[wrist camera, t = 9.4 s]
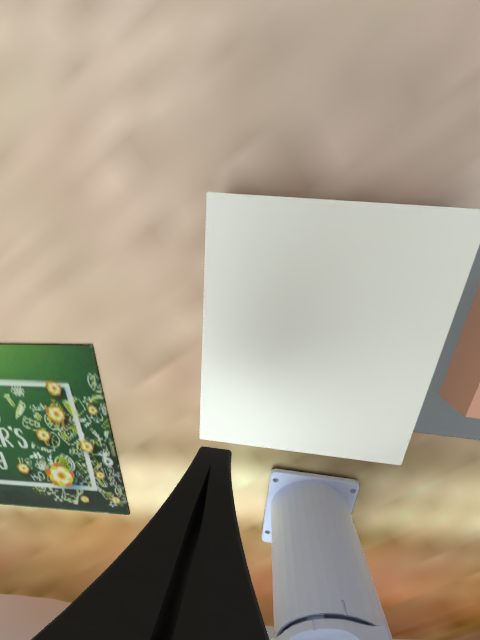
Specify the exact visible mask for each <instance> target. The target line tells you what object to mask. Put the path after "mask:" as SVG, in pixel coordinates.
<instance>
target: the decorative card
mask: <svg viewBox="0 0 480 640" xmlns="http://www.w3.org/2000/svg"><path fill="white" fill-rule="evenodd" d="M0 504H2V505H14V506H26V507H38V508H50V509H62V510H74V511H86V512H99V513H111V514H123V515H129V514H130V511H129V507H128V502H127V497H126V493H125V488H124V484H123V479H122V475H121V470H120V466H119V461H118V457H117V452H116V448H115V443H114V439H113V434H112V430H111V425H110V421H109V416H108V412H107V407H106V402H105V398H104V393H103V389H102V384H101V380H100V375H99V371H98V366H97V362H96V357H95V353H94V348H93V345H63V344H0Z"/></svg>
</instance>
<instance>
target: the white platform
mask: <svg viewBox="0 0 480 640" xmlns="http://www.w3.org/2000/svg"><path fill="white" fill-rule="evenodd" d="M479 245H480V209H470V208H454V207H438V206H422V205H406V204H390V203H374V202H358V201H342V200H326V199H310V198H294V197H278V196H262V195H246V194H230V193H214V192H207V202H206V236H205V270H204V305H203V339H202V373H201V407H200V439H205V440H212V441H220V442H227V443H235V444H242V445H250V446H257V447H265V448H273V449H280V450H288V451H295V452H303V453H310V454H318V455H326V456H333V457H341V458H348V459H356V460H363V461H371V462H378V463H386V464H394V465H401V464H402V461H403V458H404V455H405V452H406V450H407V447H408V444H409V441H410V438H411V436H412V433H413V430H414V427H415V424H416V422H417V419H418V416H419V413H420V410H421V408H422V405H423V402H424V399H425V396H426V393H427V391H428V388H429V385H430V382H431V379H432V377H433V374H434V371H435V368H436V365H437V363H438V360H439V357H440V354H441V351H442V349H443V346H444V343H445V340H446V337H447V335H448V332H449V329H450V326H451V323H452V320H453V318H454V315H455V312H456V309H457V306H458V304H459V301H460V298H461V295H462V292H463V290H464V287H465V284H466V281H467V278H468V276H469V273H470V270H471V267H472V264H473V262H474V259H475V256H476V253H477V250H478V247H479Z"/></svg>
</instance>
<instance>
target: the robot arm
mask: <svg viewBox="0 0 480 640" xmlns="http://www.w3.org/2000/svg"><path fill="white" fill-rule="evenodd" d="M231 454H232V453H231V451H230V450H225V449H217V448H210V447H201V448H200V449H199V451H198V453H197V455H196V456H195V458H194V460H193V461H192V463H191V465H190V466H189V468H188V470H187V471H186V473H185V474H184V476H183V477H182V479H181V480H180V482H179V483H178V484H177V486H176V487H175V489H174V490H173V492H172V493H171V494H170V496H169V497H168V498H167V500H166V501H165V502H164V504H163V505H162V506H161V508H160V509H159V510H158V511H157V513H156V514H155V515H154V517H153V518H152V519H151V520H150V521H149V523H148V524H147V525H146V526H145V527H144V529H143V530H142V531H141V532H140V533H139V534H138V536H137V537H136V538H135V539H134V540H133V541H132V542H131V544H130V545H129V546H128V547H127V548H126V549H125V550H124V551H123V552H122V553H121V554H120V555H119V557H118V558H117V559H116V560H115V561H114V562H113V563H112V564H111V565H110V566H109V567H108V568H107V569H106V570H105V571H104V572H103V573H102V574H101V575H100V576H99V577H98V578H97V579H96V580H95V581H94V582H93V583H92V584H91V585H90V586H89V587H88V588H87V589H86V590H85V591H84V592H83V593H82V594H81V595H80V596H79V597H78V598H77V599H76V600H75V601H73V602H72V603H71V604H70V605H69V606H68V607H67V608H66V609H65V610H64V611H63V612H62V613H61V614H60V615H58V616H57V617H56V618H55V619H54V620H53V621H52V622H51V623H49V625H47V626H46V627H45V628H44V629H43V630H42V631H41V632H39V633H38V634H37V635H36V636H35V637H34V638H33V639H32V640H393V639H392V636H391V633H390V630H389V627H388V624H387V621H386V618H385V615H384V612H383V609H382V606H381V603H380V600H379V597H378V594H377V591H376V588H375V585H374V582H373V579H372V576H371V573H370V570H369V567H368V564H367V561H366V558H365V555H364V552H363V549H362V546H361V543H360V540H359V537H358V534H357V531H356V528H355V525H354V523H353V520H352V517H351V514H352V511H353V507H354V504H355V501H356V497H357V494H358V491H359V487H360V486H359V483H358V481H357V480H354V479H348V478H341V477H334V476H326V475H319V474H312V473H304V472H297V471H290V470H283V469H273V470H272V471H271V474H270V481H269V488H268V495H267V502H266V508H265V515H264V522H263V529H262V540H263V541H265V542H270V543H272V573H273V605H274V624H275V638H273V639H269V637H268V634H267V631H266V628H265V625H264V622H263V618H262V615H261V612H260V608H259V605H258V602H257V598H256V595H255V592H254V588H253V585H252V581H251V578H250V574H249V570H248V566H247V563H246V559H245V554H244V550H243V546H242V542H241V537H240V532H239V527H238V522H237V517H236V511H235V505H234V498H233V491H232V482H231ZM275 478H276V479H275Z"/></svg>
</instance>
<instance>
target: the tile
mask: <svg viewBox="0 0 480 640" xmlns="http://www.w3.org/2000/svg"><path fill="white" fill-rule="evenodd" d="M439 396H440V397H442V398H443V399H444V400H445V401H447V402H448V403H449V404H450V405H451V406H453V407H454V408H455V409H456V410H457V411H459V412H460V413H461V414H462V415H464V416H465V417H470V418H479V419H480V284H479V286H478V289H477V292H476V294H475V297H474V300H473V303H472V305H471V308H470V311H469V314H468V316H467V319H466V322H465V324H464V327H463V330H462V333H461V335H460V338H459V341H458V344H457V346H456V349H455V352H454V354H453V357H452V360H451V363H450V365H449V368H448V371H447V374H446V376H445V379H444V382H443V384H442V387H441V390H440V393H439Z"/></svg>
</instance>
